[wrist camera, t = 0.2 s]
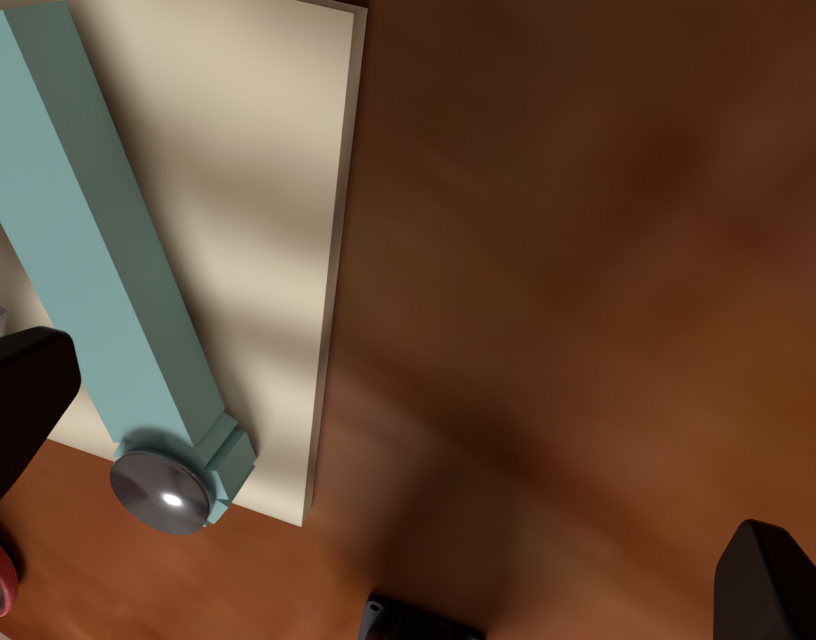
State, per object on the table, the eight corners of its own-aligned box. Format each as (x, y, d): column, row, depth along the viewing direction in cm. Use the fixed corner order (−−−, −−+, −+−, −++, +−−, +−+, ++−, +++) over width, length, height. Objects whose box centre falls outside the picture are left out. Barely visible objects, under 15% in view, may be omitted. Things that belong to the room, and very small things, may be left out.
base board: (311, 508, 32) (301, 526, 32) (-96, 368, 36) (-116, 381, 35) (367, 8, 20) (354, 13, 19) (-278, -138, 23) (-318, -140, 22)
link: (267, 488, 30) (241, 530, 28) (173, 480, 32) (142, 520, 30) (80, -4, 20) (18, 6, 18) (-43, 23, 22) (-111, 35, 20)
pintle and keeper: (283, 402, 27) (226, 484, 24) (216, 511, 33) (161, 593, 29) (-15, 215, 27) (-125, 268, 23) (-33, 359, 32) (-125, 422, 28)
